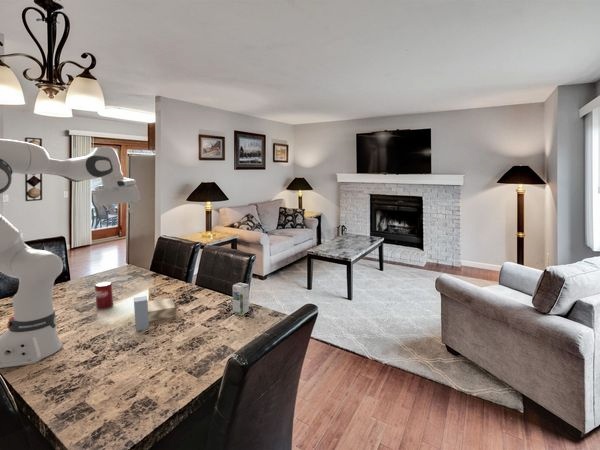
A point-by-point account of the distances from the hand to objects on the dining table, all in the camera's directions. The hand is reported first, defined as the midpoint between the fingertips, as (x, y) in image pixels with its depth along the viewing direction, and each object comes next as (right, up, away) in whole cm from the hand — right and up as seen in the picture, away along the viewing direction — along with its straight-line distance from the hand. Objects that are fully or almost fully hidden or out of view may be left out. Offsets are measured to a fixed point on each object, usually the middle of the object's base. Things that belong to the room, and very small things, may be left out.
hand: (122, 213), depth 148 cm
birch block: (+14, -48, +6) cm, 51 cm away
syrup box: (+53, -49, +8) cm, 72 cm away
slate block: (+13, -50, -8) cm, 52 cm away
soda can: (-16, -47, +12) cm, 51 cm away
